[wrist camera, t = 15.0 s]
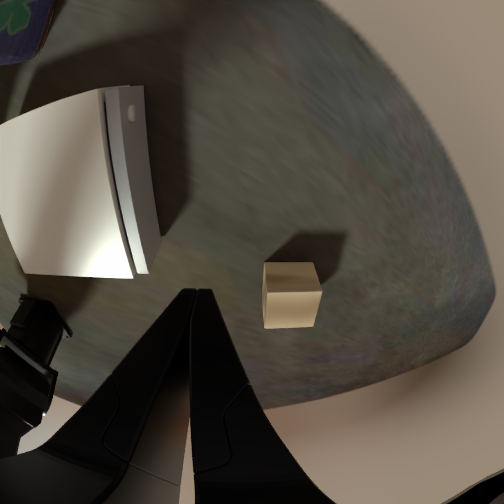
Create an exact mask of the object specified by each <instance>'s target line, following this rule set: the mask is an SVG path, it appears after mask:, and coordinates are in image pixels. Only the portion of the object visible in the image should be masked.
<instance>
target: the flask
mask: <svg viewBox="0 0 504 504" xmlns="http://www.w3.org/2000/svg"><path fill="white" fill-rule="evenodd" d="M55 2H56V0H0V66H1V65H7V64H15V63H23V62H27V61H29V60H30V61H31V60H34V59H35V58H36V57H37V56H38V55H39V53H40V51H41V50H42V46H43V44H44V42H45V39H46V35H47V32H48V29H49V27H50V25H49V24H50V22H51V20H52V16H53V11H54V9H55Z"/></svg>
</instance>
